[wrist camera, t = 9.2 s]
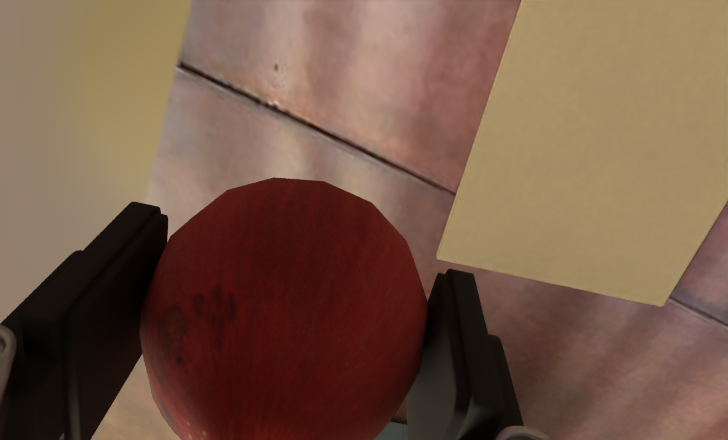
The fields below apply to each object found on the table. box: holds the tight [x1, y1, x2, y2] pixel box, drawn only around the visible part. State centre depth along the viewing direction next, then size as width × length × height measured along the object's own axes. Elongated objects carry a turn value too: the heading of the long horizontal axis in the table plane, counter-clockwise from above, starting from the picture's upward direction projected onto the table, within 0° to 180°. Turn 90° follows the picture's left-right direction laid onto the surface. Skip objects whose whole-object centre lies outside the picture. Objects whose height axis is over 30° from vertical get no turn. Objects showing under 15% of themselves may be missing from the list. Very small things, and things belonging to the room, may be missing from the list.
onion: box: [139, 178, 428, 440], centre depth 11 cm, size 6×6×8 cm
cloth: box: [436, 0, 728, 307], centre depth 24 cm, size 12×14×1 cm
